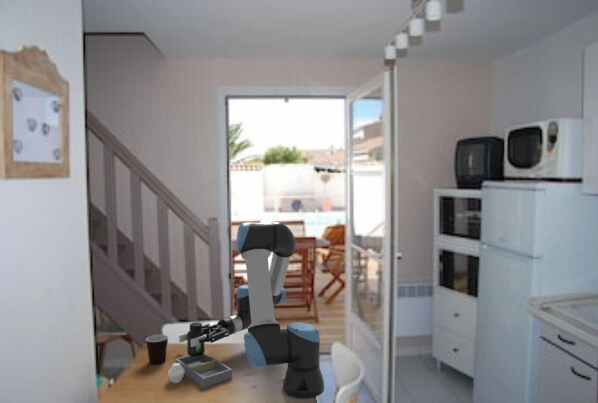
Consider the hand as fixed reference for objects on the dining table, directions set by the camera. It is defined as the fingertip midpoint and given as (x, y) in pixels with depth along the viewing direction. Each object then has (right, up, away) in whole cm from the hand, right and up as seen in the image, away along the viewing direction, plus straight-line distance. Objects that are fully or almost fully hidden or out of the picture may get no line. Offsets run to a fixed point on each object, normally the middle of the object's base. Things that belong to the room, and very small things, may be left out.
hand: (185, 341), depth 167 cm
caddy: (+7, -12, 0) cm, 14 cm away
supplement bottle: (+3, -7, +4) cm, 8 cm away
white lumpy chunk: (-1, -13, -8) cm, 15 cm away
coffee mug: (-14, -12, +12) cm, 22 cm away
